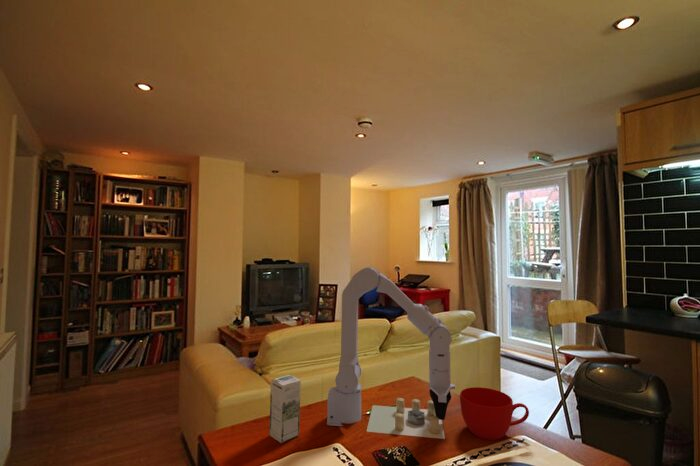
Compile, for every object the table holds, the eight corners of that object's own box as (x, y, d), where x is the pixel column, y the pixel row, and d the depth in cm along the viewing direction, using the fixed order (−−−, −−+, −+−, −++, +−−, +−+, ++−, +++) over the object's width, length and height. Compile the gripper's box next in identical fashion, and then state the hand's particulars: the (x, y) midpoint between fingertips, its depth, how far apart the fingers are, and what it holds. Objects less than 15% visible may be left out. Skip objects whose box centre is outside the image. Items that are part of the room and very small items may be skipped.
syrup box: (287, 427, 94) (288, 373, 95) (300, 436, 89) (300, 379, 90) (268, 435, 90) (269, 378, 91) (281, 444, 85) (282, 384, 86)
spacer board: (366, 435, 90) (366, 417, 90) (372, 408, 106) (372, 393, 106) (445, 442, 87) (445, 424, 87) (439, 413, 102) (439, 398, 103)
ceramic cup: (537, 454, 82) (536, 411, 82) (463, 446, 85) (463, 404, 86) (522, 427, 94) (521, 390, 95) (458, 421, 98) (457, 385, 98)
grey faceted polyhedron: (412, 426, 93) (412, 418, 93) (404, 419, 97) (404, 411, 97) (428, 423, 94) (428, 415, 95) (420, 416, 99) (419, 409, 99)
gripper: (458, 378, 88) (459, 433, 87) (451, 361, 102) (452, 408, 101) (430, 376, 89) (430, 430, 88) (427, 359, 103) (427, 406, 102)
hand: (440, 418), depth 95 cm, fingers closed
